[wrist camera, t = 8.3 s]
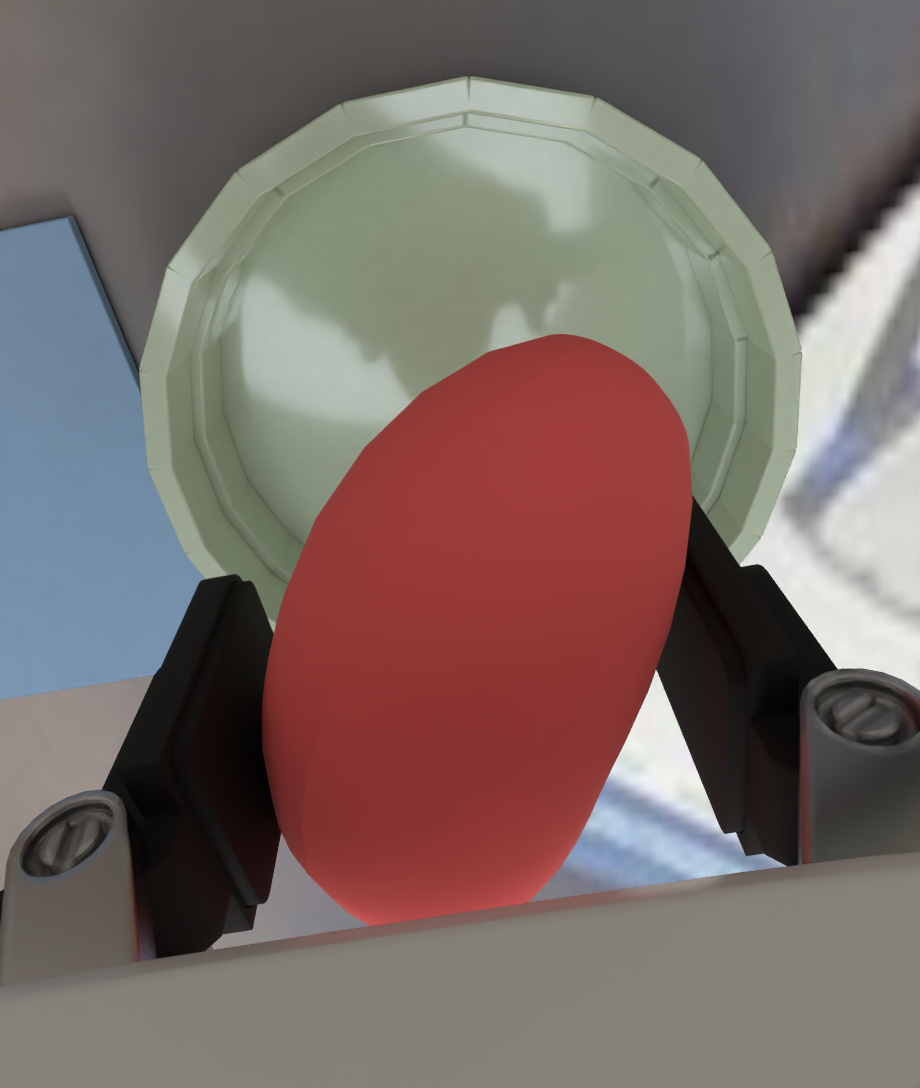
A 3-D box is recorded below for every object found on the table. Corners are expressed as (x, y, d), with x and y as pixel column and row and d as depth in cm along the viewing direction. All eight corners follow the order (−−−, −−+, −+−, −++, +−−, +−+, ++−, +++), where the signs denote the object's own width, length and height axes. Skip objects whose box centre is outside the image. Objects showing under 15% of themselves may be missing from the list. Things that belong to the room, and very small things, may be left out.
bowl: (97, 156, 18) (15, 170, 14) (744, 19, 17) (824, 0, 13) (286, 649, 25) (263, 735, 22) (737, 577, 24) (785, 656, 21)
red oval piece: (187, 631, 14) (220, 1012, 11) (330, 218, 8) (506, 858, 5) (432, 624, 17) (514, 931, 14) (693, 309, 10) (964, 757, 7)
